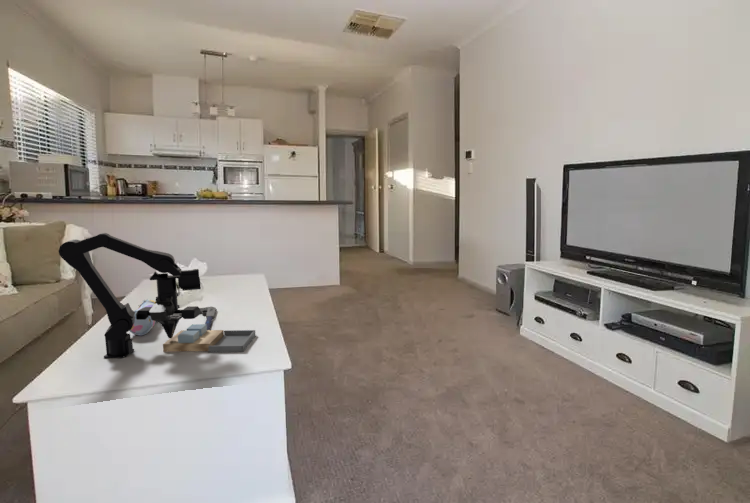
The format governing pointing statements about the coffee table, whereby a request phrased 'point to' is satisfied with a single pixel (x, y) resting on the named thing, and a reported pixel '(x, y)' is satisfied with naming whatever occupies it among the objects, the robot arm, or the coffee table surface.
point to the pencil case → (143, 325)
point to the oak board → (199, 345)
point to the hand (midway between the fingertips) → (170, 337)
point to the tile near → (188, 336)
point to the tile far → (198, 328)
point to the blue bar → (208, 315)
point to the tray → (233, 341)
